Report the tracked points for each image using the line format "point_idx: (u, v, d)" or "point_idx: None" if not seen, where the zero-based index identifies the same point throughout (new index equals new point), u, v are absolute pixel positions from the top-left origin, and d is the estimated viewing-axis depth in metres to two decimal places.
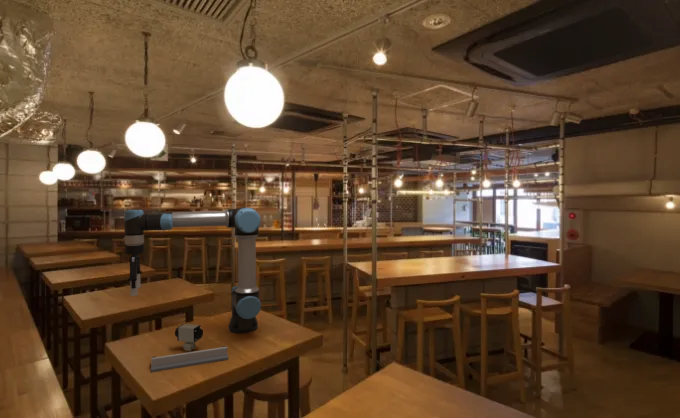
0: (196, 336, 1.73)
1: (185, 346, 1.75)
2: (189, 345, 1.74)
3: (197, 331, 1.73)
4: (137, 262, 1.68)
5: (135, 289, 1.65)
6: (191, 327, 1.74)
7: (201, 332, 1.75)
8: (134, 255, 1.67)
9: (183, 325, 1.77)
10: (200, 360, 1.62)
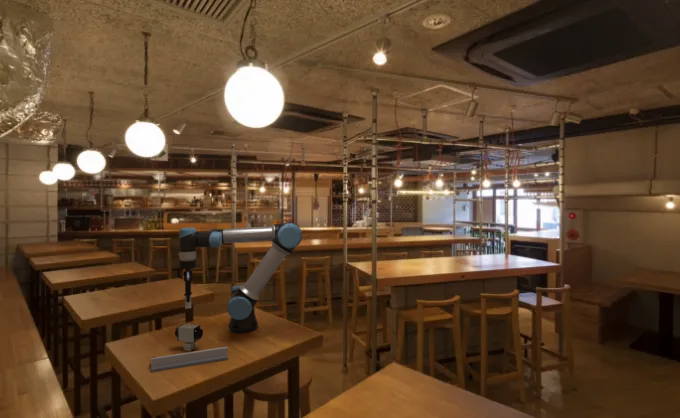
0: (196, 336, 1.73)
1: (185, 346, 1.75)
2: (189, 345, 1.74)
3: (197, 331, 1.73)
4: (190, 277, 1.84)
5: (189, 303, 1.85)
6: (191, 327, 1.74)
7: (201, 332, 1.75)
8: (188, 270, 1.82)
9: (183, 325, 1.77)
10: (200, 360, 1.62)
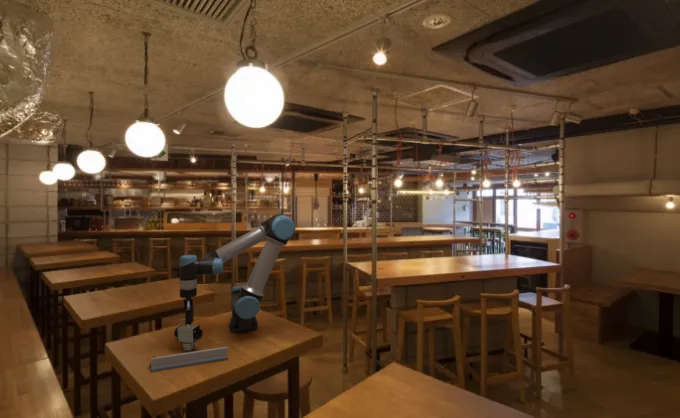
0: (195, 337, 1.72)
1: (185, 346, 1.74)
2: (189, 345, 1.74)
3: (196, 332, 1.72)
4: None
5: None
6: (190, 328, 1.73)
7: (200, 332, 1.75)
8: (188, 299, 1.77)
9: (182, 325, 1.76)
10: (200, 360, 1.62)
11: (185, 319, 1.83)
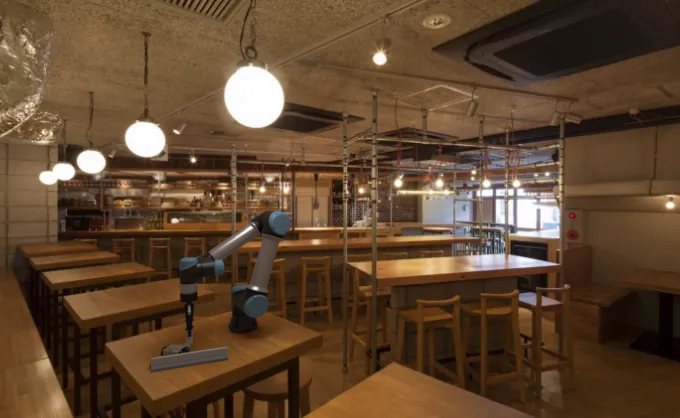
0: None
1: None
2: None
3: None
4: (192, 311, 1.73)
5: (191, 337, 1.74)
6: None
7: None
8: (189, 303, 1.71)
9: (164, 354, 1.64)
10: (200, 360, 1.62)
11: (186, 324, 1.77)
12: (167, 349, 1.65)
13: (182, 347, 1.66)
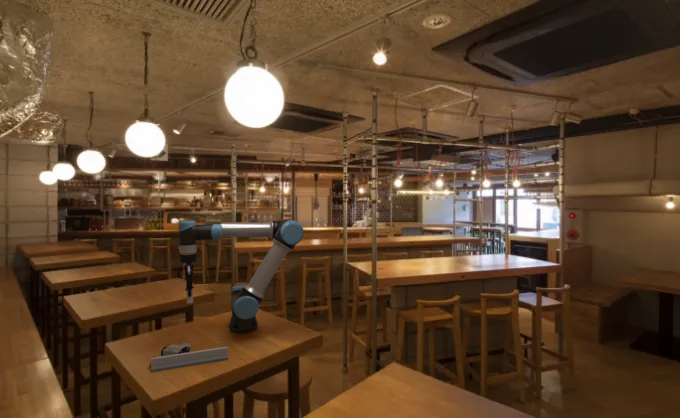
0: None
1: None
2: None
3: None
4: (191, 271, 1.80)
5: (191, 297, 1.81)
6: None
7: None
8: (189, 264, 1.77)
9: (164, 354, 1.64)
10: (200, 360, 1.62)
11: (186, 285, 1.83)
12: (167, 349, 1.65)
13: (182, 347, 1.65)
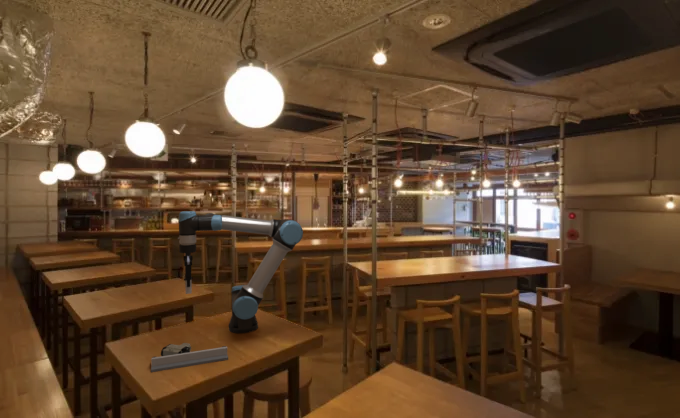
0: None
1: None
2: None
3: None
4: (191, 262, 1.80)
5: (190, 288, 1.81)
6: None
7: None
8: (188, 254, 1.78)
9: (164, 354, 1.64)
10: (200, 360, 1.62)
11: (185, 276, 1.84)
12: (167, 349, 1.65)
13: (182, 347, 1.65)
